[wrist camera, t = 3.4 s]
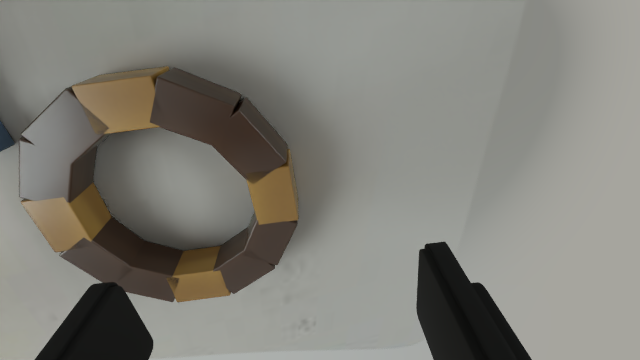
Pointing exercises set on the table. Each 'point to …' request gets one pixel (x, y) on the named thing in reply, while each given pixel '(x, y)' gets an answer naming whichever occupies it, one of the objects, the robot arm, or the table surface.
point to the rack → (5, 138)
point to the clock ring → (114, 238)
